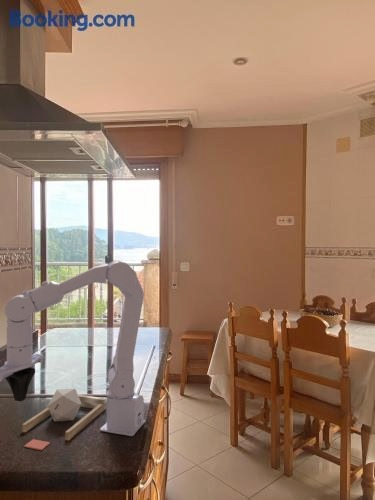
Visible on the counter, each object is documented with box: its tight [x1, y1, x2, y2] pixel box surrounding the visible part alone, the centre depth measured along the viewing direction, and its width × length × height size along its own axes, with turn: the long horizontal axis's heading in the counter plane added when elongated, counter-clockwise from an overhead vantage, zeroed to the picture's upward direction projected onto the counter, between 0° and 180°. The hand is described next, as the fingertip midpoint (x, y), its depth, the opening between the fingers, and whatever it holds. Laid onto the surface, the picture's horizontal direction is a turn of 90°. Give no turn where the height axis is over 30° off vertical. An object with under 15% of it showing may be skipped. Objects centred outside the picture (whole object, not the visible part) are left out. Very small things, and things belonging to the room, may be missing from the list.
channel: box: [21, 394, 107, 441], centre depth 98 cm, size 14×18×3 cm
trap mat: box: [23, 438, 51, 451], centre depth 86 cm, size 5×3×1 cm, turn 73°
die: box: [47, 388, 81, 422], centre depth 99 cm, size 8×9×10 cm
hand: (20, 399), depth 87 cm, fingers closed
